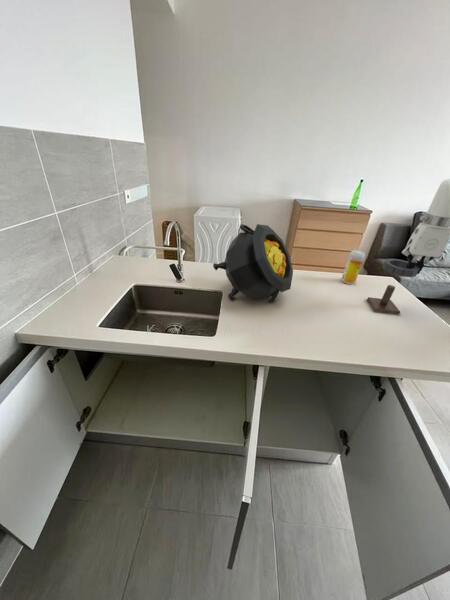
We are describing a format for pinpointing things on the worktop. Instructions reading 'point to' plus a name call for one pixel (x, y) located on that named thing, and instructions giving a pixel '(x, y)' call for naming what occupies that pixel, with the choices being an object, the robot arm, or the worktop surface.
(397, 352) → the worktop surface
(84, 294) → the worktop surface
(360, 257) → the beer can
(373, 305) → the peg stand
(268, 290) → the cauldron
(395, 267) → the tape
